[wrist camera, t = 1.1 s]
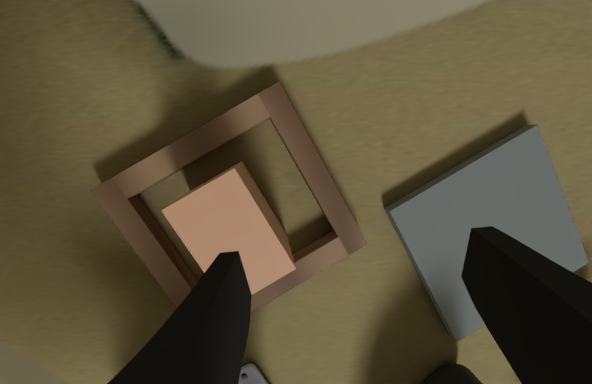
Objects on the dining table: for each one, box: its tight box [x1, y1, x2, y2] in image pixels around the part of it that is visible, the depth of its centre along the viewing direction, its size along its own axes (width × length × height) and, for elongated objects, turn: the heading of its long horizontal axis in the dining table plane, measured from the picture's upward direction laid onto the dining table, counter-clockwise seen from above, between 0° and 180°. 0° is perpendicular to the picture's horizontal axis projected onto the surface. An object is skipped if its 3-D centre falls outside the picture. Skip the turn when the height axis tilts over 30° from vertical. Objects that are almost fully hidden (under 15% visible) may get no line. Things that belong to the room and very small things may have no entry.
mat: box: [384, 125, 589, 341], centre depth 23 cm, size 12×12×1 cm
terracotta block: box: [161, 161, 296, 295], centre depth 18 cm, size 4×6×6 cm, turn 30°
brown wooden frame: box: [90, 82, 367, 313], centre depth 20 cm, size 13×12×2 cm
